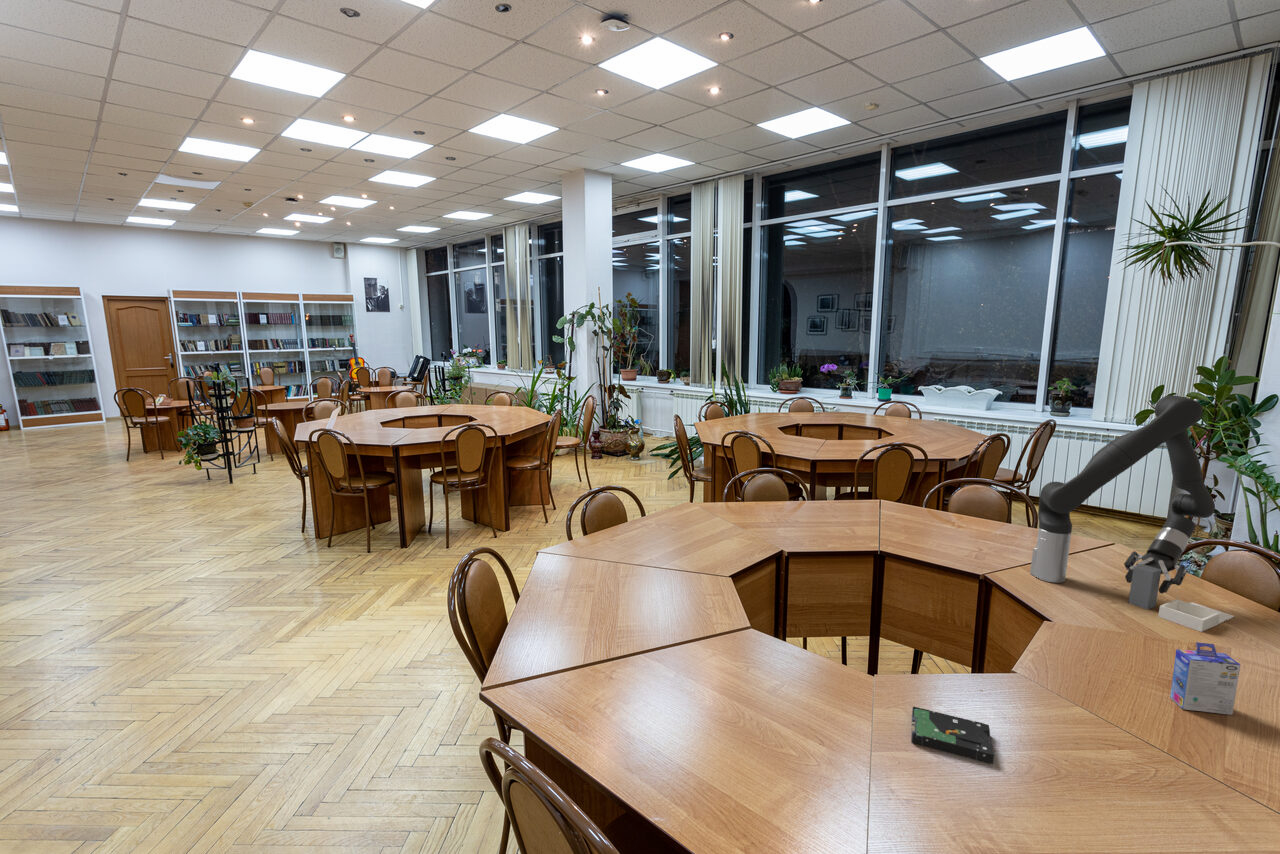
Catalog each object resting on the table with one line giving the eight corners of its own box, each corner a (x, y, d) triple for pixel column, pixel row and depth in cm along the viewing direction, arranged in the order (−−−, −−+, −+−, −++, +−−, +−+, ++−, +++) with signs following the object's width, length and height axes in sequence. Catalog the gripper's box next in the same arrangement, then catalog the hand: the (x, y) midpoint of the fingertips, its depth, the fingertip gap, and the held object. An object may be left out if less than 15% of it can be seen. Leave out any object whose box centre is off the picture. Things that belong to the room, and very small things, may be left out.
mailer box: (1158, 616, 181) (1160, 605, 181) (1191, 603, 190) (1193, 592, 190) (1201, 631, 172) (1203, 620, 172) (1234, 617, 181) (1236, 606, 181)
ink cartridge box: (1216, 701, 140) (1226, 643, 138) (1234, 716, 135) (1245, 655, 132) (1167, 695, 142) (1176, 638, 139) (1182, 710, 136) (1193, 650, 134)
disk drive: (987, 735, 128) (910, 716, 134) (988, 723, 128) (912, 704, 134) (993, 767, 119) (910, 745, 125) (995, 754, 118) (912, 733, 124)
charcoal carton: (1128, 602, 190) (1133, 566, 188) (1136, 599, 192) (1142, 563, 190) (1147, 609, 186) (1153, 572, 184) (1155, 606, 188) (1161, 569, 186)
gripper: (1138, 532, 196) (1114, 571, 192) (1193, 546, 183) (1168, 589, 180) (1144, 545, 199) (1121, 584, 196) (1199, 560, 186) (1175, 602, 183)
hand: (1144, 586), depth 188 cm, fingers open, 8 cm apart
